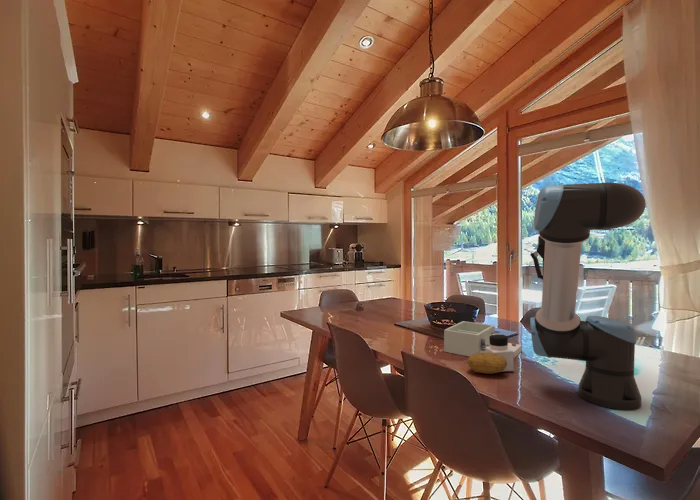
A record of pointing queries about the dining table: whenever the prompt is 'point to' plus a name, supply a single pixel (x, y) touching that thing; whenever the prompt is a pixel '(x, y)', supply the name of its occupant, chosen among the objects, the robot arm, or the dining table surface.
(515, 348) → the white flat block
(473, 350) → the open box
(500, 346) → the medicine bottle
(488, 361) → the potato
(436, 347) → the dining table surface
